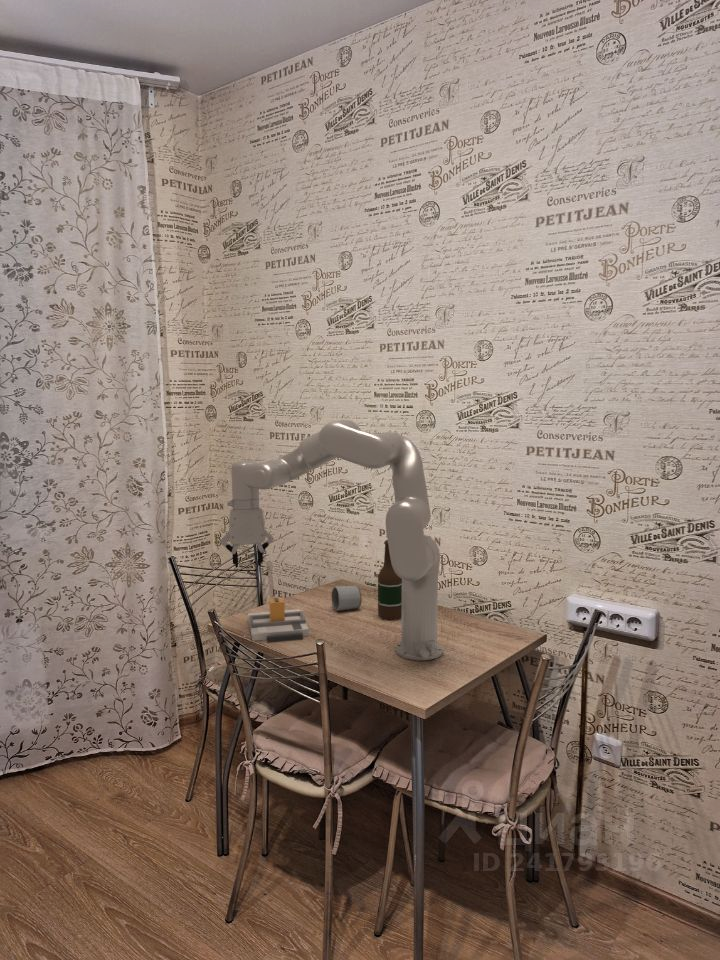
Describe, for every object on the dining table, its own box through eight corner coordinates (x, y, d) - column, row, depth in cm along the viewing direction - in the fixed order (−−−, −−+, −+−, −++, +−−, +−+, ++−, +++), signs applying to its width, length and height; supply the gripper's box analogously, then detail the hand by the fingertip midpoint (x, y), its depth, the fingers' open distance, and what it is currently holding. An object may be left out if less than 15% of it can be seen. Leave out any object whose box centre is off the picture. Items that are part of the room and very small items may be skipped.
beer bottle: (401, 621, 206) (401, 543, 203) (376, 620, 207) (375, 543, 204) (404, 612, 214) (404, 538, 210) (379, 611, 215) (379, 537, 212)
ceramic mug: (363, 610, 216) (362, 587, 215) (339, 614, 213) (338, 590, 212) (350, 601, 226) (350, 579, 225) (327, 604, 223) (327, 581, 222)
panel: (308, 635, 195) (308, 625, 195) (252, 641, 191) (251, 630, 191) (300, 615, 212) (299, 606, 212) (248, 619, 209) (247, 610, 208)
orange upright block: (284, 621, 200) (284, 601, 199) (271, 623, 199) (270, 602, 198) (283, 617, 204) (282, 596, 203) (269, 618, 203) (269, 597, 202)
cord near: (302, 639, 192) (302, 634, 192) (267, 642, 190) (267, 637, 190) (302, 637, 194) (302, 632, 194) (266, 640, 192) (266, 635, 191)
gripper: (215, 508, 189) (217, 571, 192) (277, 505, 193) (279, 567, 196) (214, 503, 197) (217, 564, 199) (274, 500, 200) (276, 560, 203)
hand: (247, 565), depth 197 cm, fingers open, 5 cm apart
